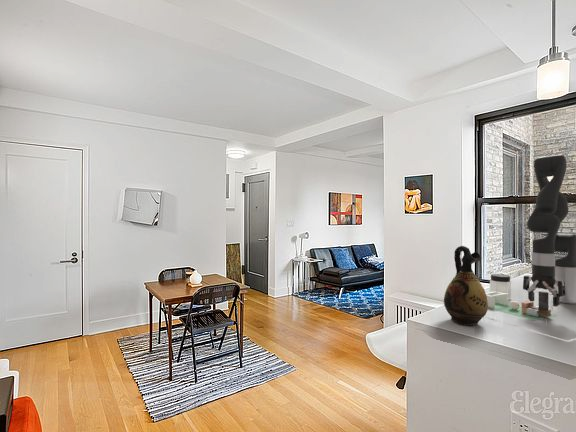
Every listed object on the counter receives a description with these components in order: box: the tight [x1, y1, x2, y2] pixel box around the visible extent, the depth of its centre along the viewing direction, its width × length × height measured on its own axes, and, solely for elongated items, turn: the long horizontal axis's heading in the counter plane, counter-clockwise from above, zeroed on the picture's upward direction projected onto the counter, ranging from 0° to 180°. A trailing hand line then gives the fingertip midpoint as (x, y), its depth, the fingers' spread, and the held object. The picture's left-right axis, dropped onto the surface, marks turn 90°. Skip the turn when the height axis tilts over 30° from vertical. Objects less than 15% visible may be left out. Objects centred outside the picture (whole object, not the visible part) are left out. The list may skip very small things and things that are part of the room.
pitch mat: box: [488, 303, 558, 322], centre depth 143 cm, size 16×25×1 cm, turn 24°
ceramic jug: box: [443, 245, 489, 327], centre depth 129 cm, size 17×15×30 cm
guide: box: [527, 305, 544, 318], centre depth 135 cm, size 7×4×3 cm, turn 114°
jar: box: [489, 273, 512, 301], centre depth 164 cm, size 9×8×12 cm
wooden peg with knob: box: [521, 291, 552, 318], centre depth 135 cm, size 5×9×10 cm, turn 24°
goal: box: [485, 291, 510, 308], centre depth 151 cm, size 11×6×6 cm, turn 114°
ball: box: [509, 300, 521, 310], centre depth 143 cm, size 4×4×4 cm
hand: (543, 303), depth 133 cm, fingers open, 8 cm apart
